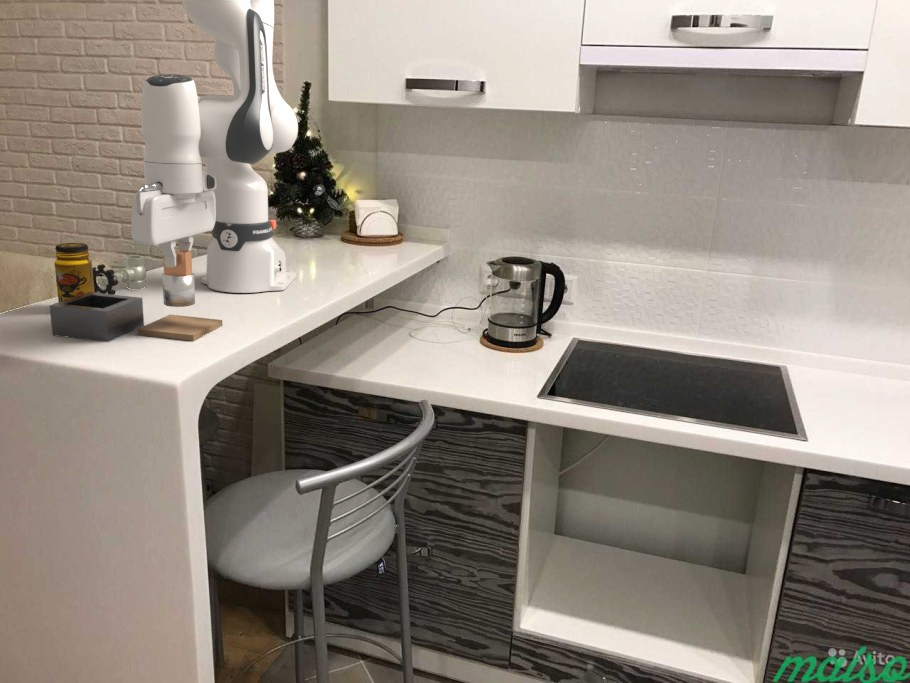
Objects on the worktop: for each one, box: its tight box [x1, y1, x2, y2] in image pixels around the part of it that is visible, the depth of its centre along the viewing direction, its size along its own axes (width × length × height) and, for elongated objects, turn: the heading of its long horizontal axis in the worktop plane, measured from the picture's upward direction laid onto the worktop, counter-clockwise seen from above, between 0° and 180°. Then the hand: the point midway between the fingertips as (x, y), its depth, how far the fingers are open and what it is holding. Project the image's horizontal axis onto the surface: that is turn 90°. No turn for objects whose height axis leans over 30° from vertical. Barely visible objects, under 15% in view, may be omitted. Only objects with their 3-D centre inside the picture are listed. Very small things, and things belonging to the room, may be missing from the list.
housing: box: [49, 292, 145, 343], centre depth 126 cm, size 10×10×5 cm
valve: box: [92, 254, 147, 295], centre depth 151 cm, size 7×7×12 cm
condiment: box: [54, 242, 95, 303], centre depth 137 cm, size 7×8×12 cm
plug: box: [161, 248, 196, 308], centre depth 126 cm, size 5×5×9 cm
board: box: [137, 314, 223, 342], centre depth 129 cm, size 10×10×1 cm
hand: (177, 264), depth 126 cm, fingers closed on plug
